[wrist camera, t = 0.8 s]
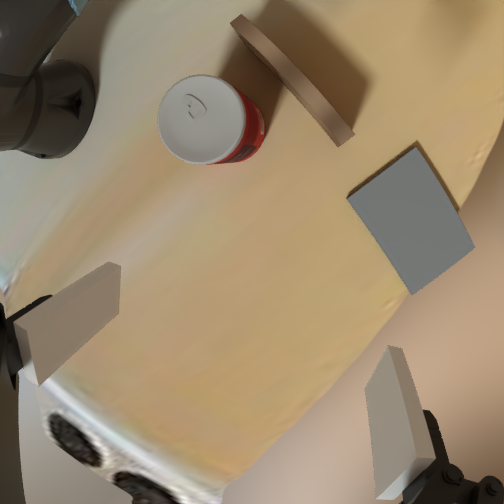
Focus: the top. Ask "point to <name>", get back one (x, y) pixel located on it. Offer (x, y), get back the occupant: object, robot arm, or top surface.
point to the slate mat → (412, 220)
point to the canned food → (209, 122)
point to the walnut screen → (293, 80)
